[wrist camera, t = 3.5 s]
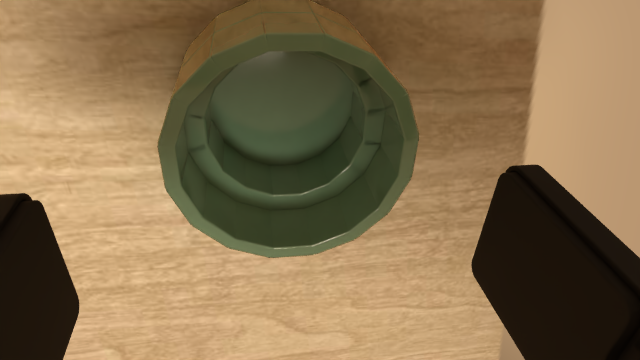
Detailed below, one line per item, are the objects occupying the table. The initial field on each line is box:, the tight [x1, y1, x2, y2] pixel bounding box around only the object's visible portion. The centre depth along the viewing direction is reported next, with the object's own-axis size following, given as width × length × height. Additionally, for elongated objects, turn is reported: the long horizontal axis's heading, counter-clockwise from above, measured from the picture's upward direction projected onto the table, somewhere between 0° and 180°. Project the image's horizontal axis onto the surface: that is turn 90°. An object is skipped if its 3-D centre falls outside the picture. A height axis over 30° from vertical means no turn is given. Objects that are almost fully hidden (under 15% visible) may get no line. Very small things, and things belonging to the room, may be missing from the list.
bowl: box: [157, 0, 419, 258], centre depth 14 cm, size 7×7×4 cm
